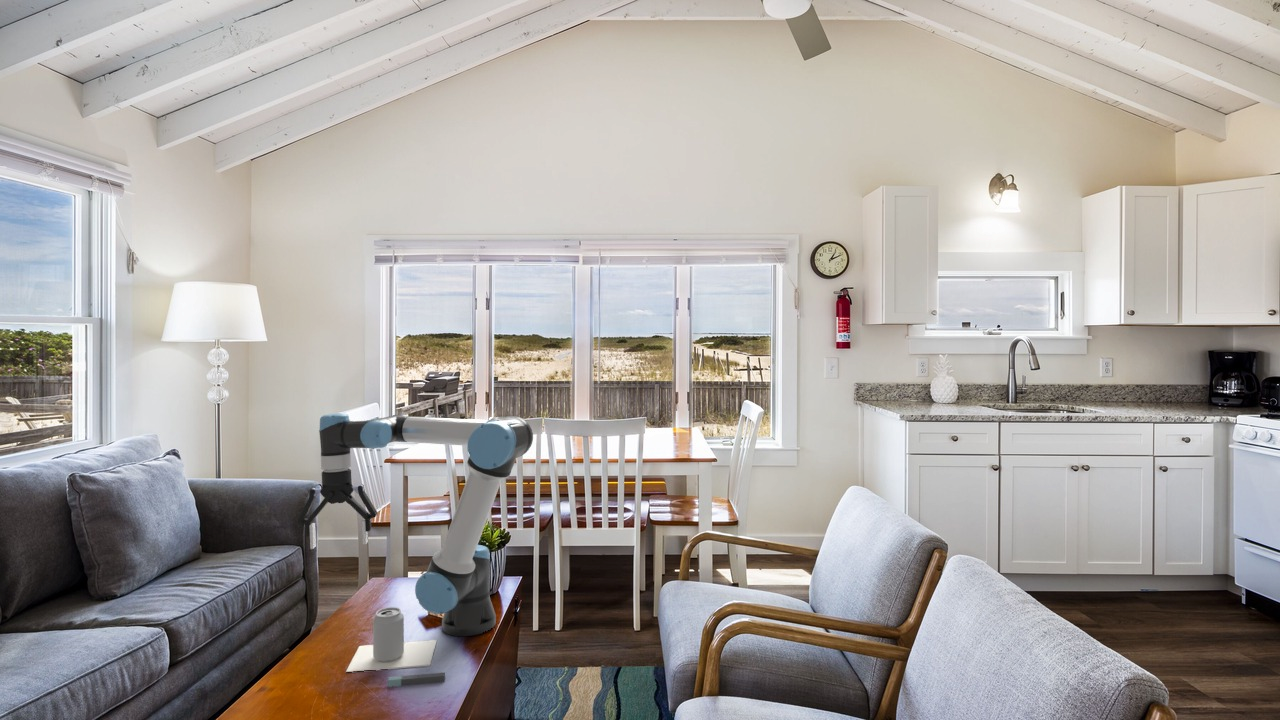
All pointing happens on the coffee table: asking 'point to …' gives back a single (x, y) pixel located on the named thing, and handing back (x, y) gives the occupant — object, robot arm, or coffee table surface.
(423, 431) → the robot arm
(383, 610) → the can
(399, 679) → the marker
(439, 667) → the coffee table surface
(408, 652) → the paper
